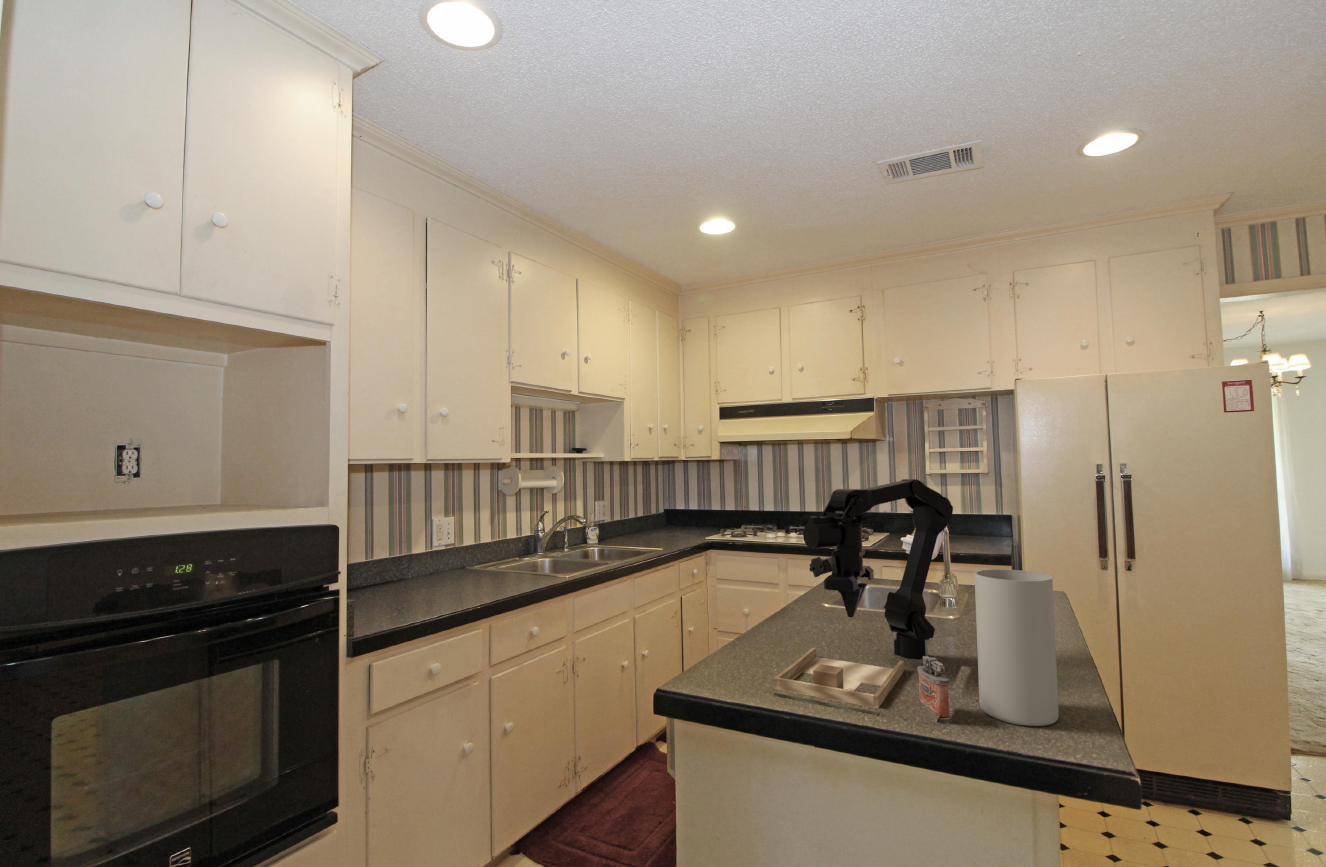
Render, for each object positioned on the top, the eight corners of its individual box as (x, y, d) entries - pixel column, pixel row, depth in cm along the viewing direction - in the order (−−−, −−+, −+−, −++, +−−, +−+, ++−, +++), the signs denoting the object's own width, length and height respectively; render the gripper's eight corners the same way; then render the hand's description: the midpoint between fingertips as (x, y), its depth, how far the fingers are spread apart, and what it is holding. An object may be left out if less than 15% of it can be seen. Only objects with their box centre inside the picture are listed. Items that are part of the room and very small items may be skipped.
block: (843, 691, 121) (842, 667, 121) (836, 698, 117) (836, 674, 118) (820, 687, 123) (820, 664, 124) (813, 694, 120) (813, 670, 120)
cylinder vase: (1002, 728, 107) (996, 581, 108) (967, 701, 119) (962, 569, 121) (1075, 727, 107) (1068, 580, 108) (1031, 700, 119) (1026, 568, 121)
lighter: (914, 706, 117) (912, 652, 117) (931, 705, 117) (929, 651, 118) (936, 724, 109) (934, 666, 109) (955, 723, 109) (953, 665, 110)
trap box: (904, 677, 133) (904, 660, 133) (878, 716, 112) (877, 696, 113) (813, 663, 143) (812, 647, 144) (774, 696, 123) (773, 678, 123)
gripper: (825, 539, 150) (827, 604, 149) (799, 548, 134) (801, 621, 134) (873, 542, 144) (875, 610, 144) (851, 551, 129) (853, 628, 128)
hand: (850, 616), depth 137 cm, fingers closed
